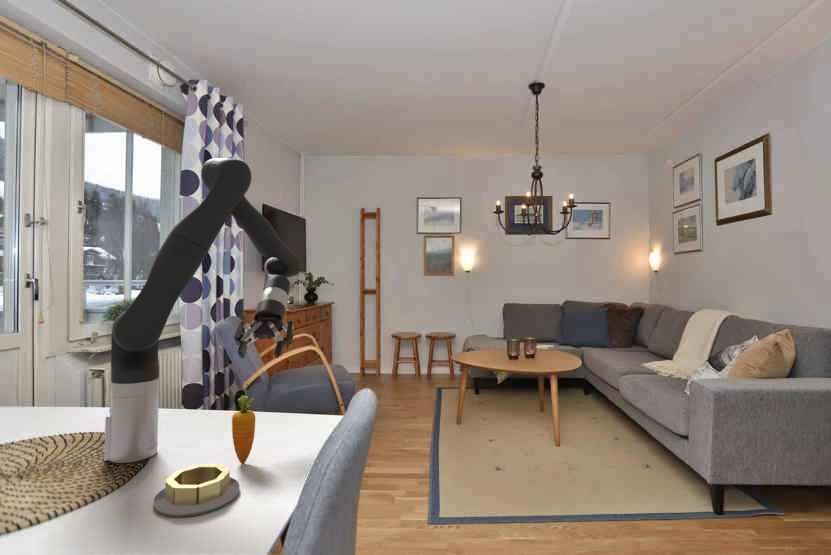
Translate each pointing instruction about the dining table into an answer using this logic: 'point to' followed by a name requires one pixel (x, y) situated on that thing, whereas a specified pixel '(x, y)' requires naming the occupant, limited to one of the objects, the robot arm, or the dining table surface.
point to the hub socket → (196, 491)
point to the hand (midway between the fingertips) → (259, 356)
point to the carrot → (243, 429)
